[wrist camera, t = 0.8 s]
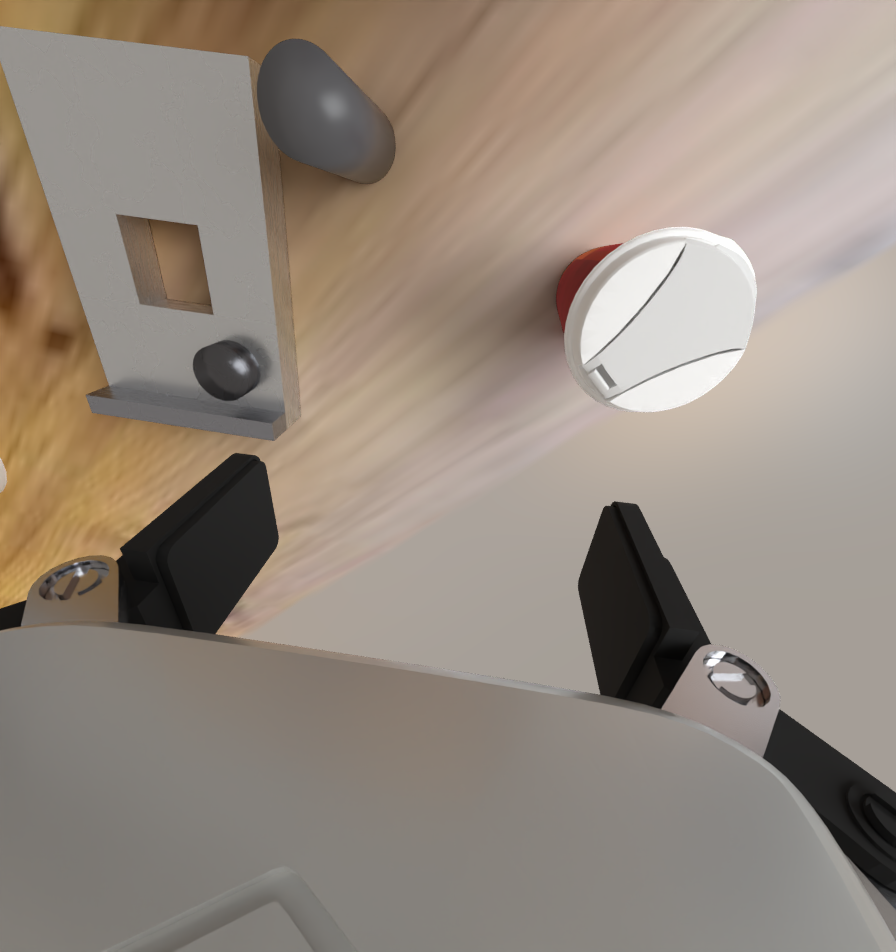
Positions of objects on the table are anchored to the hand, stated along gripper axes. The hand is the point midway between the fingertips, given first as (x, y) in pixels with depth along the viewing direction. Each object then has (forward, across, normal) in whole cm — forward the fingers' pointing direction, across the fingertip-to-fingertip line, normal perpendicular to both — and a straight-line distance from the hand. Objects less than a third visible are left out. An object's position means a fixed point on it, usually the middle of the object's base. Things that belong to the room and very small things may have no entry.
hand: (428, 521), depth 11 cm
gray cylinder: (+26, +9, -11) cm, 29 cm away
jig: (+25, +23, -3) cm, 35 cm away
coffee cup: (+26, -9, -4) cm, 27 cm away
